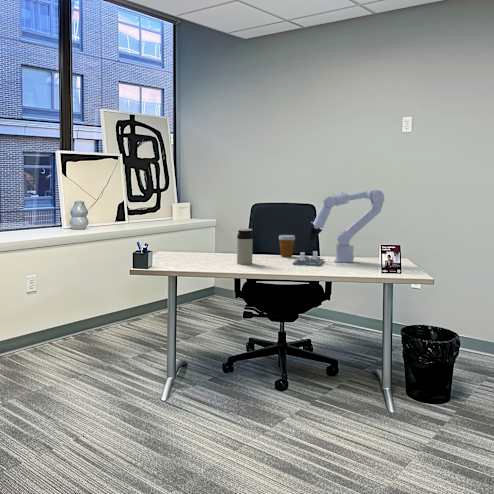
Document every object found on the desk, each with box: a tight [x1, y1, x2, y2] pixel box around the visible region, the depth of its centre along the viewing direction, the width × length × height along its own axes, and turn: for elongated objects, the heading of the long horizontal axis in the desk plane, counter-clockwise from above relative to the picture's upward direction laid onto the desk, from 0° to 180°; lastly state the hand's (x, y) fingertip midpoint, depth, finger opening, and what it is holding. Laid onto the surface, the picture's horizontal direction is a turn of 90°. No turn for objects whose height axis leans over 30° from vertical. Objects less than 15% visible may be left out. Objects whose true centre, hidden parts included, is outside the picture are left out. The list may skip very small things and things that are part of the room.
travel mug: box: [236, 228, 254, 266], centre depth 292 cm, size 8×8×18 cm
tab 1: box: [299, 252, 306, 260], centre depth 295 cm, size 2×4×4 cm, turn 167°
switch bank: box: [292, 256, 325, 267], centre depth 297 cm, size 14×18×2 cm
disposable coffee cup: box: [278, 234, 296, 258], centre depth 319 cm, size 10×10×12 cm
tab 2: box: [312, 250, 318, 260], centre depth 299 cm, size 2×4×4 cm, turn 167°
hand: (311, 240), depth 305 cm, fingers open, 7 cm apart
